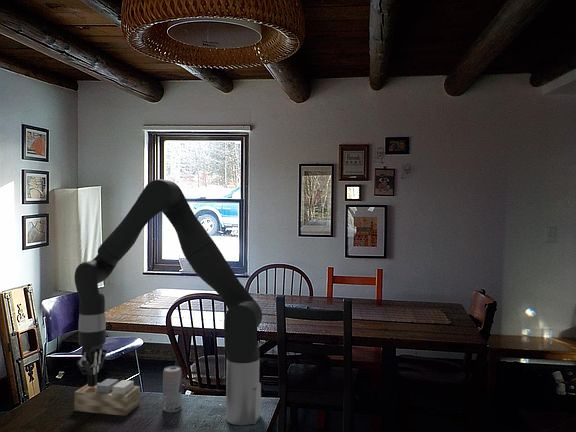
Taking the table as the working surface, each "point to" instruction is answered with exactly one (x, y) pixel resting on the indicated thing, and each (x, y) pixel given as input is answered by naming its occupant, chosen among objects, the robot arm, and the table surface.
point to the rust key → (90, 389)
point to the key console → (107, 401)
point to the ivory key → (123, 387)
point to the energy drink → (172, 389)
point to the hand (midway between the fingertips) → (92, 385)
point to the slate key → (106, 386)
